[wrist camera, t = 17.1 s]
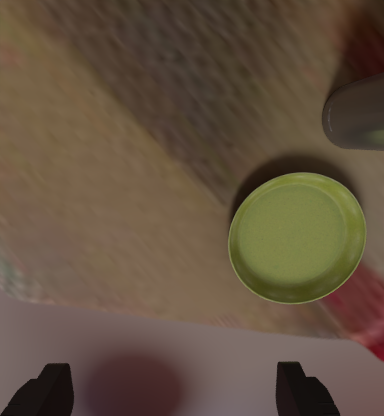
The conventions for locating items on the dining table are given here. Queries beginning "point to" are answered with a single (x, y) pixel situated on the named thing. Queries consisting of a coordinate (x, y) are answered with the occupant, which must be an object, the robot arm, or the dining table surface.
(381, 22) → the dining table surface
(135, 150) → the dining table surface
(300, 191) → the saucer
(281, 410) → the robot arm
